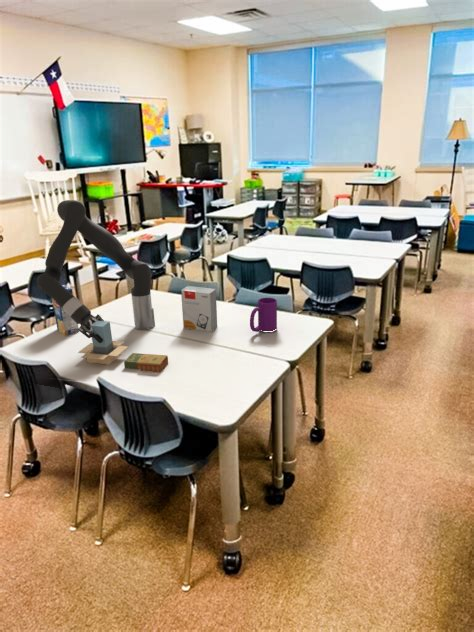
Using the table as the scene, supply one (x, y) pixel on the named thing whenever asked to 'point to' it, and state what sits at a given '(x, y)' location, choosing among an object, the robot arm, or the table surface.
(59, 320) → the beverage box
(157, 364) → the carton
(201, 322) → the hard drive box
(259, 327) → the mug
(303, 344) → the table surface
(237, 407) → the table surface
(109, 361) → the kraft carton
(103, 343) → the slate box
